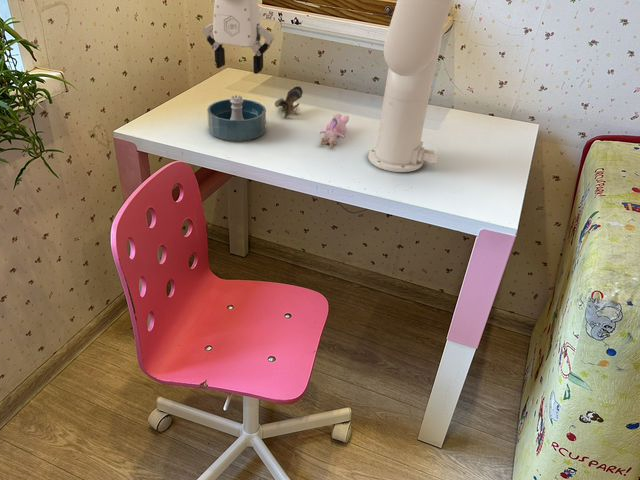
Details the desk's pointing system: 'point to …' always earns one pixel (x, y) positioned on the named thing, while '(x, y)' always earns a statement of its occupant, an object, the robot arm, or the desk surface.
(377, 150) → the robot arm
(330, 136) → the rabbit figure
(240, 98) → the rook chess piece
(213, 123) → the bowl
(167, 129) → the desk surface
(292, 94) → the eagle figurine
